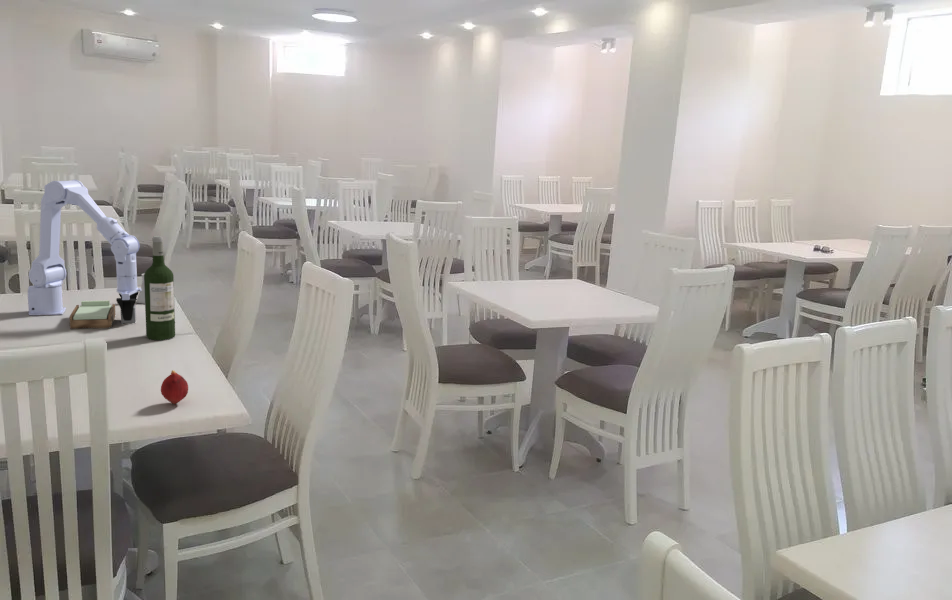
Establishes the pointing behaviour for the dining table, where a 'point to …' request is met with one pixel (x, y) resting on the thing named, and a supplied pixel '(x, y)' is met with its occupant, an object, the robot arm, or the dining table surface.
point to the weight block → (132, 317)
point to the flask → (141, 292)
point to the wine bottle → (159, 296)
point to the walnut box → (92, 320)
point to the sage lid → (93, 310)
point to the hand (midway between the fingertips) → (128, 317)
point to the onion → (174, 388)
